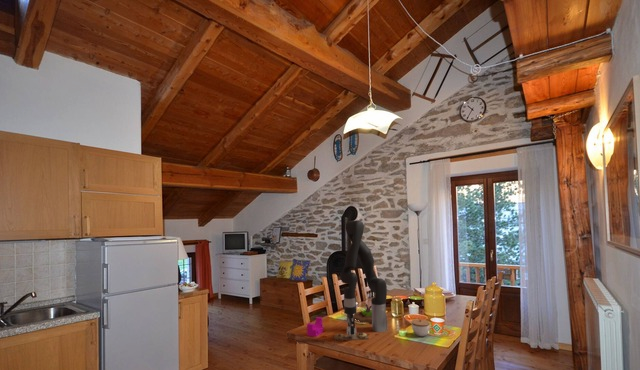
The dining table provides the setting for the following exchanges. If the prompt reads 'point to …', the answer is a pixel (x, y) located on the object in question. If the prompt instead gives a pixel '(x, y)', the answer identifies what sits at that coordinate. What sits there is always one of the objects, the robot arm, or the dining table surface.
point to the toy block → (315, 328)
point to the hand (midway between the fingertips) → (351, 331)
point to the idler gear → (349, 330)
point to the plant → (364, 315)
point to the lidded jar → (420, 327)
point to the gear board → (351, 337)
